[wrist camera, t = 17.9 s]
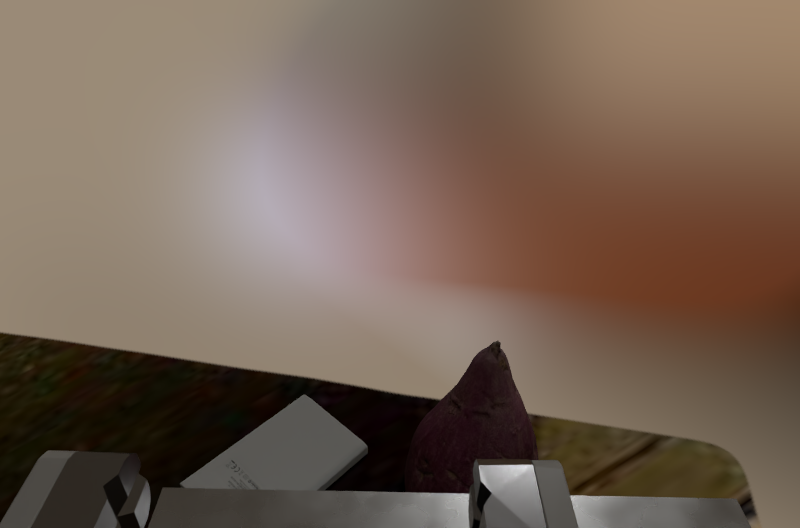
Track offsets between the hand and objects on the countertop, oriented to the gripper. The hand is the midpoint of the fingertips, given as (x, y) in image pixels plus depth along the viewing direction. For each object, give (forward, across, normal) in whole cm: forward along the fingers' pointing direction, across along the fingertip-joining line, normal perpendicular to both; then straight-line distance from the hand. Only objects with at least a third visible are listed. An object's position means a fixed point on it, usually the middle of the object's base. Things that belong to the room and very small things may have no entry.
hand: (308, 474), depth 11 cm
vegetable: (+21, +8, -32) cm, 39 cm away
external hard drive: (+22, -7, -33) cm, 40 cm away
